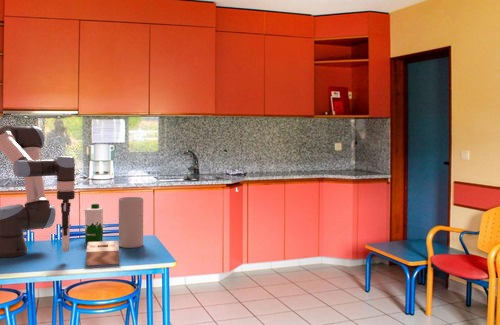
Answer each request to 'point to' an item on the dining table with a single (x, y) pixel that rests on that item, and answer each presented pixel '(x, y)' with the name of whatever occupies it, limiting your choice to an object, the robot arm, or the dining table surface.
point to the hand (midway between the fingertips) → (65, 241)
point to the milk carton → (94, 223)
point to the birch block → (102, 253)
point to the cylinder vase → (130, 222)
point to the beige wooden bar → (67, 245)
